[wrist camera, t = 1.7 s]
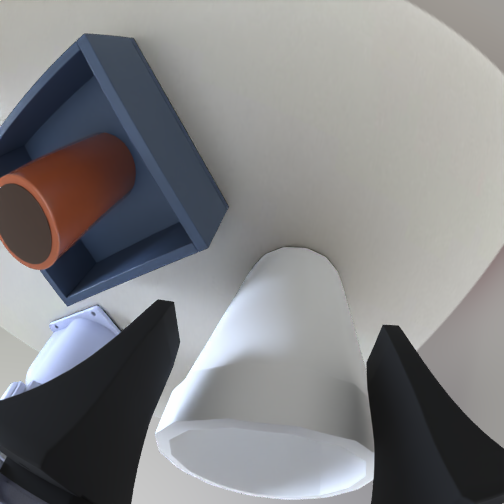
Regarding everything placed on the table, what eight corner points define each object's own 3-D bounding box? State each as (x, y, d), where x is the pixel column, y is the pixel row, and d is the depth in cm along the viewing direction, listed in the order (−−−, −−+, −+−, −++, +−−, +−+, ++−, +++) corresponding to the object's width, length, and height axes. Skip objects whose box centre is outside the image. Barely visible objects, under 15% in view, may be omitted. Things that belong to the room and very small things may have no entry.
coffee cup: (98, 215, 20) (27, 282, 14) (63, 156, 18) (-22, 205, 12) (150, 184, 19) (76, 251, 12) (111, 117, 17) (17, 153, 10)
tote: (99, 267, 24) (67, 306, 19) (21, 141, 19) (-25, 163, 14) (229, 206, 19) (208, 248, 15) (133, 37, 14) (84, 32, 10)
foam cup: (283, 194, 19) (232, 383, 8) (390, 280, 20) (426, 464, 9) (203, 290, 23) (130, 448, 12) (301, 352, 25) (280, 506, 14)
